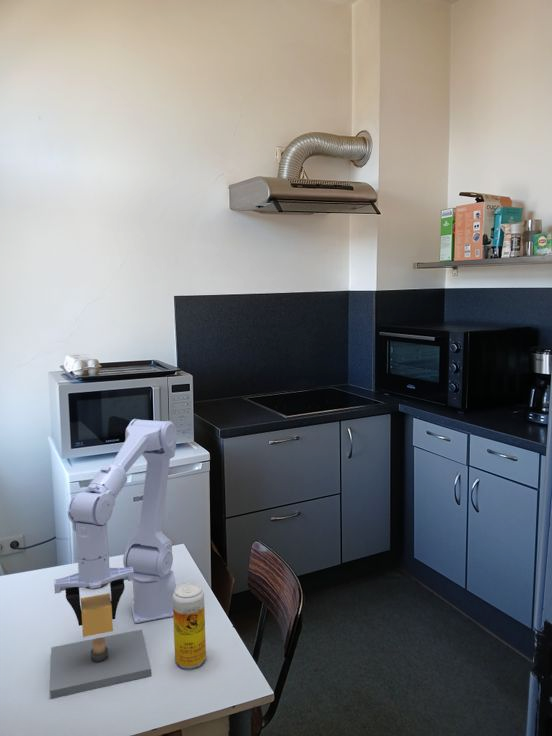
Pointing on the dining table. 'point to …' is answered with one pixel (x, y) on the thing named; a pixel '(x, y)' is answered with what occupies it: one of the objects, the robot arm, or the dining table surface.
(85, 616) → the orange cube
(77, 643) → the post board
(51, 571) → the dining table surface
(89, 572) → the robot arm
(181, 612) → the beer can
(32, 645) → the dining table surface
